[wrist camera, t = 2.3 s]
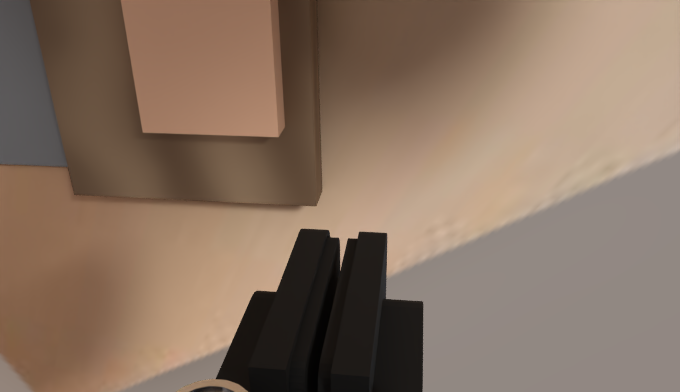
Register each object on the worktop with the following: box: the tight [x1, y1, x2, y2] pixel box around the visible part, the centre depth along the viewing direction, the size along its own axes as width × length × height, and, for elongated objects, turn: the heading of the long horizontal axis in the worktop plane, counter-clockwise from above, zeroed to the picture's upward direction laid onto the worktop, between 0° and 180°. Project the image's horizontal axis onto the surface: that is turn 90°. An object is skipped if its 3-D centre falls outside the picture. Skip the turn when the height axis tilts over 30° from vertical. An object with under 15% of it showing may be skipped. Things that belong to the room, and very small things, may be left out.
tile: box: [121, 0, 285, 137], centre depth 29 cm, size 7×7×2 cm
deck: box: [30, 0, 322, 206], centre depth 31 cm, size 14×16×2 cm
